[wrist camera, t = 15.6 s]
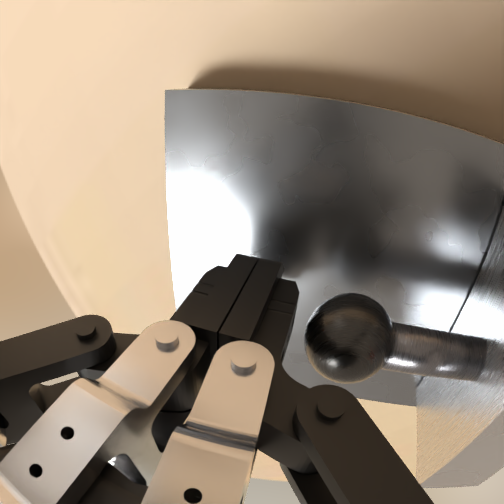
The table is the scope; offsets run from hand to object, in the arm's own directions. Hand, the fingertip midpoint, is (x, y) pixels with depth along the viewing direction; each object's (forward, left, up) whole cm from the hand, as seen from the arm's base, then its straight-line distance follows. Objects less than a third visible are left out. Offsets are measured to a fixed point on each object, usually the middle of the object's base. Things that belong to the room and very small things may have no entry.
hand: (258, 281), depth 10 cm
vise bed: (-8, 0, -3) cm, 9 cm away
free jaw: (-6, 0, -1) cm, 6 cm away
